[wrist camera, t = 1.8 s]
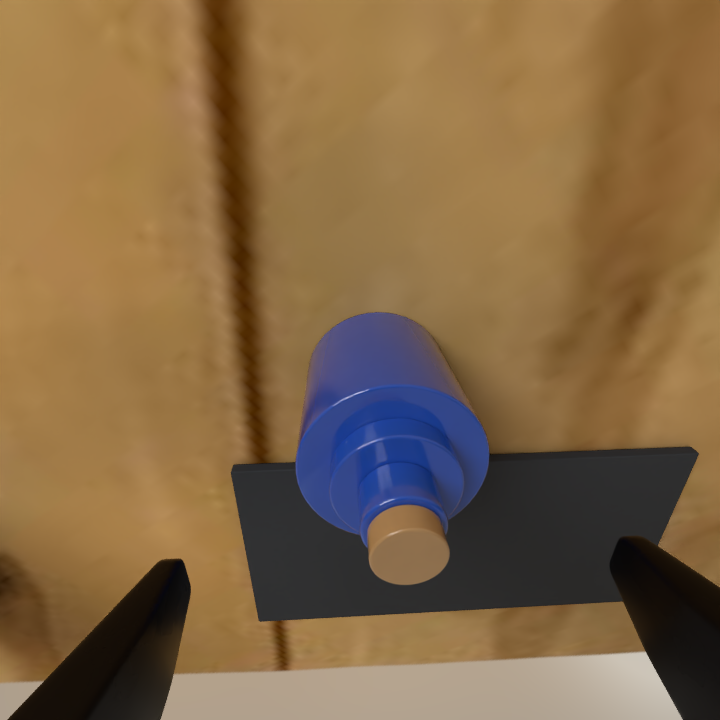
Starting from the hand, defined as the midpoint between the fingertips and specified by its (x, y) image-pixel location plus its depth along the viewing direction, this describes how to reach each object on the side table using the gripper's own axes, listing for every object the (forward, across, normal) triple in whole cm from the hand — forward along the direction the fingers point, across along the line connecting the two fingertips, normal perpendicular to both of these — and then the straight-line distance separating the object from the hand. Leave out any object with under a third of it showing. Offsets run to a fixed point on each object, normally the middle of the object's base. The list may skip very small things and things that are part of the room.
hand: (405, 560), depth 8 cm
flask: (+8, 0, 0) cm, 8 cm away
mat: (+8, -4, +9) cm, 13 cm away
